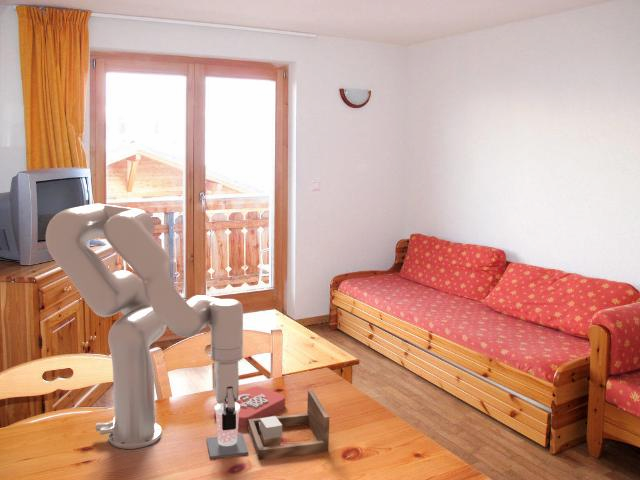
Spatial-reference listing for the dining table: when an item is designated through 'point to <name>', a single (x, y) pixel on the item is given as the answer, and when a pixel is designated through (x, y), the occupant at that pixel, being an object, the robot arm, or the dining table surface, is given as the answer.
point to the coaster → (226, 448)
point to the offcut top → (270, 427)
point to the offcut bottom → (270, 441)
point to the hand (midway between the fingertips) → (227, 422)
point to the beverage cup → (226, 435)
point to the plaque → (258, 404)
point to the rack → (313, 417)
